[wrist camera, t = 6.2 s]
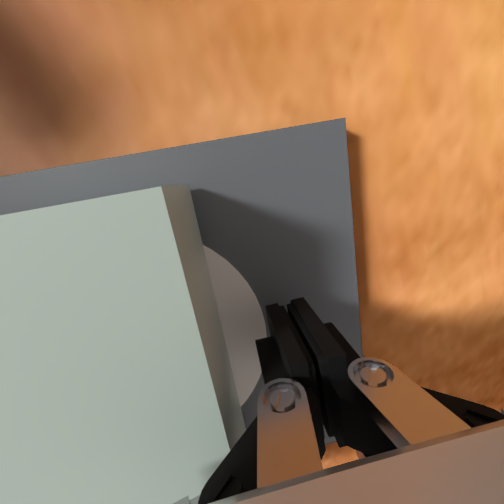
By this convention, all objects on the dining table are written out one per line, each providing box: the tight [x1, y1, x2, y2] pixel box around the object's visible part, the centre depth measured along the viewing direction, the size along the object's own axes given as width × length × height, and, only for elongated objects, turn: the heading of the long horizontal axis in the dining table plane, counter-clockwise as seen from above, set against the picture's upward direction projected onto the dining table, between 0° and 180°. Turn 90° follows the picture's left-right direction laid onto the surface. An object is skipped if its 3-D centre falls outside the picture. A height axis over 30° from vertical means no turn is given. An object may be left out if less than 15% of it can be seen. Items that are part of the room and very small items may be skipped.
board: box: [0, 118, 363, 444], centre depth 12 cm, size 29×16×1 cm, turn 100°
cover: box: [0, 184, 246, 504], centre depth 9 cm, size 13×13×5 cm
